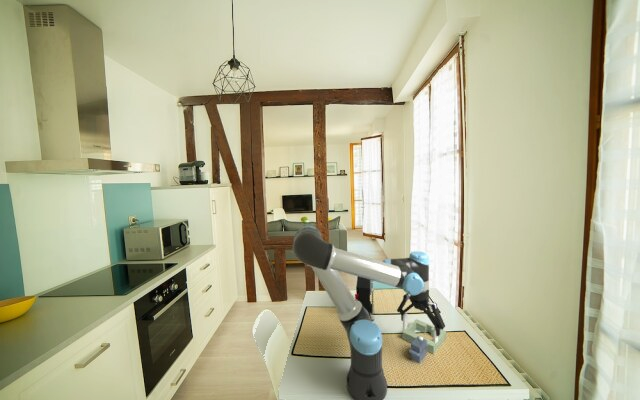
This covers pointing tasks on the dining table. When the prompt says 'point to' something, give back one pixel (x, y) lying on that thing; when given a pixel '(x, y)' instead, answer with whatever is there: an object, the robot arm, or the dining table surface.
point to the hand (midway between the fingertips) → (419, 334)
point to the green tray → (423, 327)
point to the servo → (418, 349)
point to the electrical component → (365, 294)
